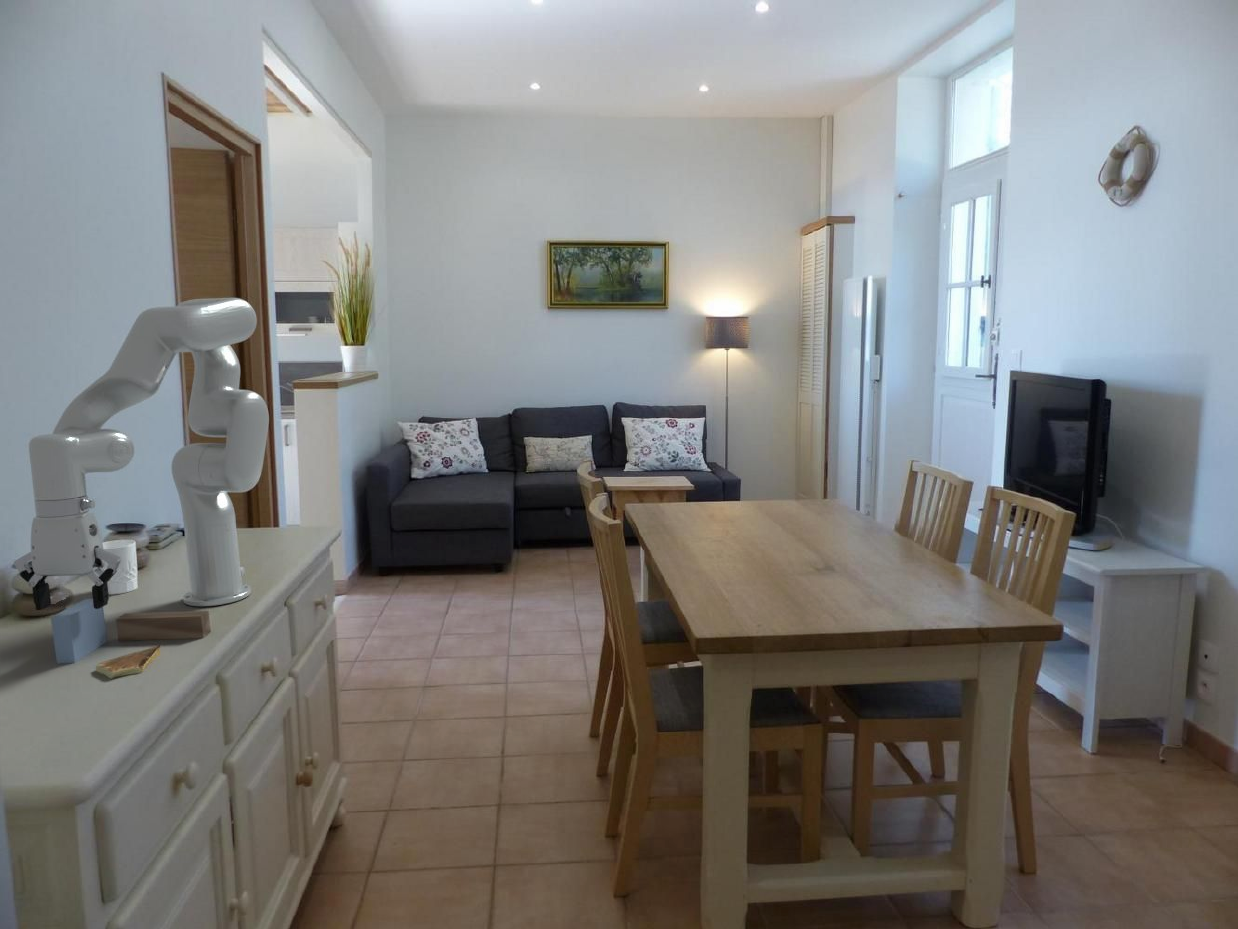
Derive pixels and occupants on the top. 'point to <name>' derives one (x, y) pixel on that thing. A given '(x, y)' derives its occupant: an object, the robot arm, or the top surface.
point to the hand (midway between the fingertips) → (72, 607)
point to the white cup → (122, 566)
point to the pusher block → (78, 631)
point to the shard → (128, 663)
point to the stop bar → (163, 625)
